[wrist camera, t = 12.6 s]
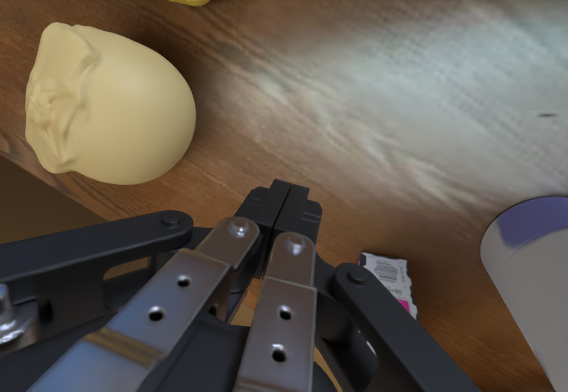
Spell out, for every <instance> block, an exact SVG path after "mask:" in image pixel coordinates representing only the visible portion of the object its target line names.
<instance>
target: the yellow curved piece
mask: <svg viewBox="0 0 568 392" xmlns="http://www.w3.org/2000/svg"><path fill="white" fill-rule="evenodd" d="M168 1H172V2H177V3H181V4H185V5H190V6H202V5H204V4H206V3H208V2H209V1H210V0H168Z"/></svg>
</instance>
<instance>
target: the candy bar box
mask: <svg viewBox="0 0 568 392" xmlns="http://www.w3.org/2000/svg"><path fill="white" fill-rule="evenodd" d="M358 265H360V266H363V267H365V268H366V269H368V270H369V271H371V272H372V273H373V274H374V275H375V276H376V277H377V278H378V279H379V281H380V282H381V283H382V284H383V285H384V286H385V287H386V288H387V289H388V290H389V291H390V292H391V293H392V295H393V296H394V297H395V298H396V299H397V300H398V301H399V302H400V303H401V304H402V305H403V306H404V308H405V309H406V310H407V311H408V312H409V313H410V314H411V315H412V316H413V317H414V318H415V319H416V321H417V322H418V323H419V324H420V322H419V317H418V312H417V307H416V303H415V298H414V294H413V289H412V283H411V279H410V274H409V269H408V265H407V260H405V259H400V258H395V257H387V256H382V255H377V254H372V253H365V252H361V253H360V257H359V262H358ZM359 333H360V334H361V336H362V337H363V339H364V340H365V341H366V343H367V344H368V345H369V347H370V348H371V349H372V351H373V352H374V353H375V351H374V349H373V348H372V347H371V345H370V344H369V343H368V341H367V340H366V338H365V337H364V336H363V334H362V333H361V332H360V331H359ZM375 355H376V353H375ZM342 392H343V391H342Z"/></svg>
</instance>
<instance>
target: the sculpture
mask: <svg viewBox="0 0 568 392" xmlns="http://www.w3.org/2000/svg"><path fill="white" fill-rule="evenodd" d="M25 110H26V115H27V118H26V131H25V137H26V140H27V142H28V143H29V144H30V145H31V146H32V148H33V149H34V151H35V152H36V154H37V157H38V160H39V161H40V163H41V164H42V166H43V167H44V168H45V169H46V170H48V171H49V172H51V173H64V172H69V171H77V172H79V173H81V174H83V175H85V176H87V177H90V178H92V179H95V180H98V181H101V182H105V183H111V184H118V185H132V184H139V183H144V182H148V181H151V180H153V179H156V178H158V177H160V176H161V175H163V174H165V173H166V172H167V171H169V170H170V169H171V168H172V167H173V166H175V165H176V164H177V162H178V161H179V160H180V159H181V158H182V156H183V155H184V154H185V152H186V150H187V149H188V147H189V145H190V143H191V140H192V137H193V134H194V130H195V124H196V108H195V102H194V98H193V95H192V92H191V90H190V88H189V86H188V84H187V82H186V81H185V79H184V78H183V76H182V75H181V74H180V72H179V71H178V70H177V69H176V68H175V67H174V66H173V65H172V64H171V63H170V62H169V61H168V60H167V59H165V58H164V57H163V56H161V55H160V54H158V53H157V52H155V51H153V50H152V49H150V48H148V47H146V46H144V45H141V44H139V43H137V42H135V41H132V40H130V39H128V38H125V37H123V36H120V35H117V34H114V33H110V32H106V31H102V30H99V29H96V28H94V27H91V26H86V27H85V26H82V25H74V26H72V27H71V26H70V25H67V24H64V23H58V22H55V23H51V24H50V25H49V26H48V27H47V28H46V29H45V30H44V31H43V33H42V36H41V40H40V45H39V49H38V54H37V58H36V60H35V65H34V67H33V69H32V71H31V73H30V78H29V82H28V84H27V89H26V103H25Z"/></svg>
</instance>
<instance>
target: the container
mask: <svg viewBox="0 0 568 392" xmlns="http://www.w3.org/2000/svg"><path fill="white" fill-rule="evenodd" d="M480 256H481V260H482V263H483V265H484V267H485V269H486V271H487V272H488V274H489V276H490V278H491V279H492V281H493V283H494V284H495V286H496V288H497V290H498V291H499V293H500V295H501V297H502V299H503V300H504V302H505V304H506V306H507V307H508V309H509V311H510V313H511V314H512V316H513V318H514V320H515V321H516V323H517V325H518V327H519V328H520V330H521V332H522V334H523V335H524V337H525V339H526V341H527V342H528V344H529V346H530V348H531V349H532V351H533V353H534V355H535V356H536V358H537V360H538V362H539V363H540V365H541V367H542V369H543V370H544V372H545V374H546V376H547V377H548V379H549V381H550V383H551V384H552V386H553V388H554V390H555V391H556V392H568V197H556V196H554V197H542V198H537V199H533V200H529V201H526V202H523V203H521V204H518V205H516V206H514V207H512V208H510V209H509V210H507V211H505V212H504V213H503V214H501V215H500V216H499V217H498V218H497V219H495V220H494V221H493V223H492V224H491V225H490V226H489V227H488V229H487V230H486V232H485V234H484V236H483V239H482V242H481V246H480Z"/></svg>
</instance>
